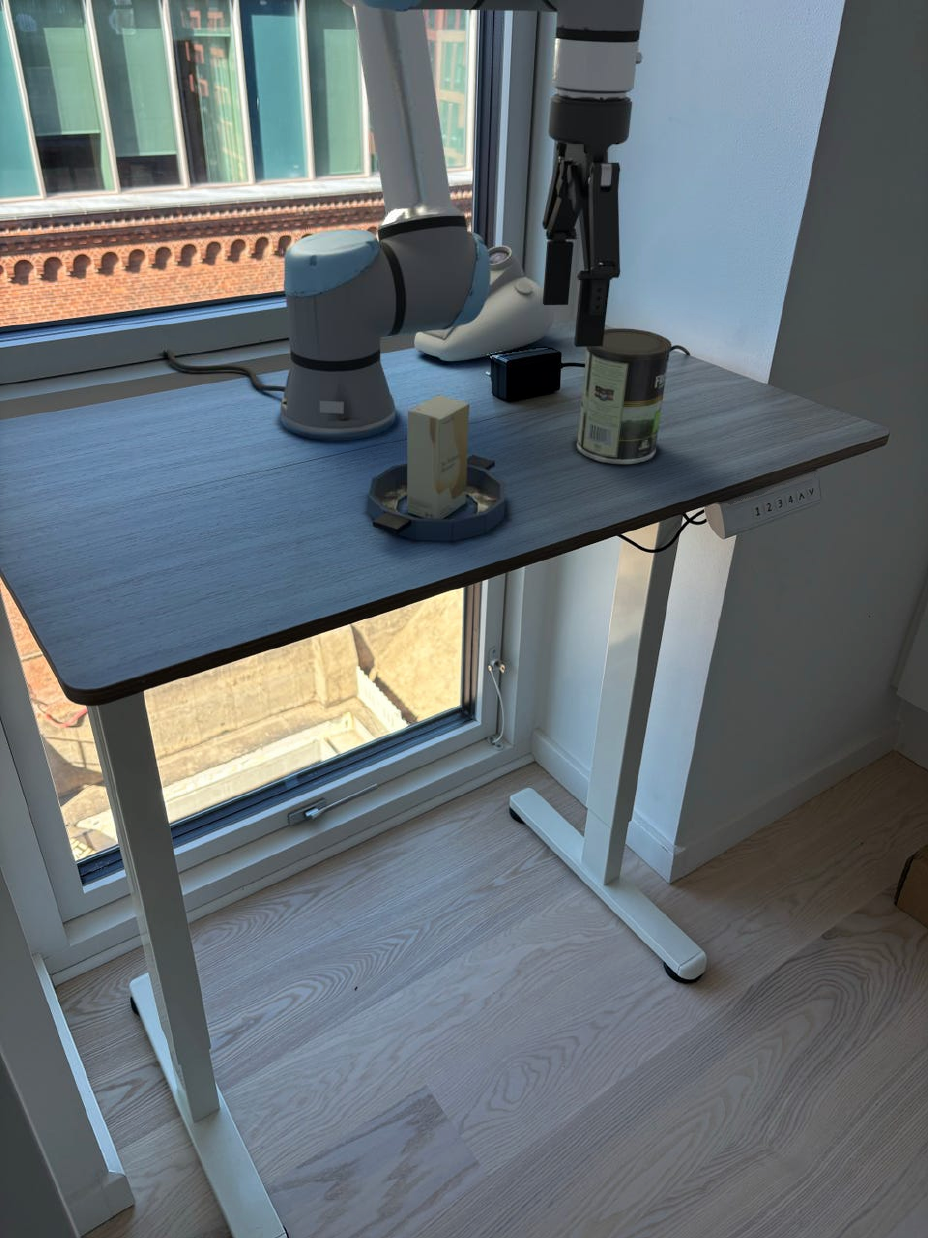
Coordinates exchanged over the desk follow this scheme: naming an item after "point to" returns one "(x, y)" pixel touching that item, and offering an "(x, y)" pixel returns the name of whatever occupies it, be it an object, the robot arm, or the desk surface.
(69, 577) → the desk surface
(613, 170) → the robot arm
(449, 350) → the projector
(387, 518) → the handled polygonal ring
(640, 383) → the coffee can
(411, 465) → the cosmetic box
